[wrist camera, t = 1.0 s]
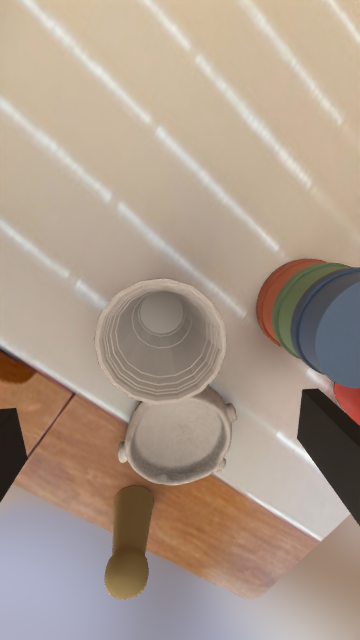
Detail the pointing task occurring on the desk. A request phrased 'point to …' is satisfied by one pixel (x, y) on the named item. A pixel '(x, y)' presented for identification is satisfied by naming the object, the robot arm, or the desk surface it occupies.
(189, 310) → the plastic cup
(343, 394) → the flower pot
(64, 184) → the desk surface
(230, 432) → the dish
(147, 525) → the wooden peg doll
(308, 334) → the cup stack
